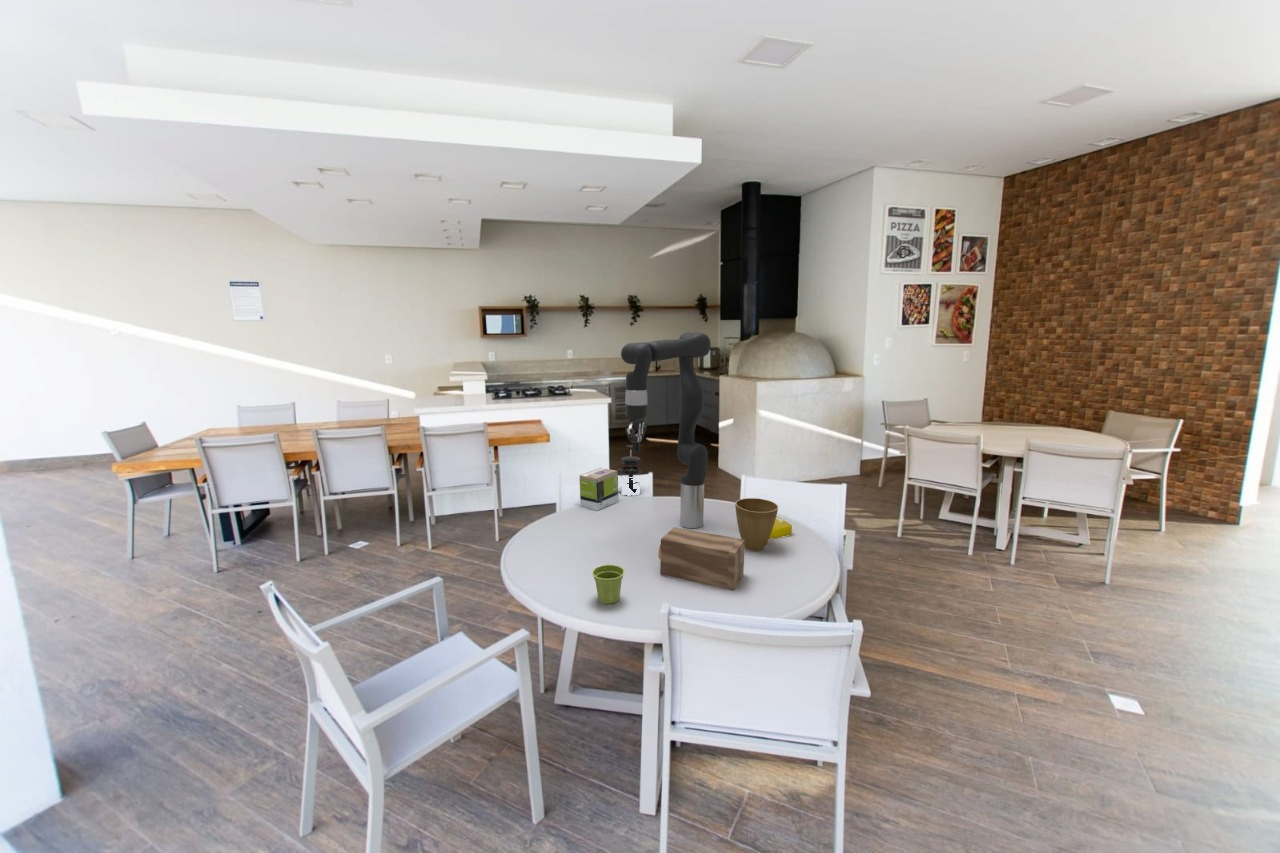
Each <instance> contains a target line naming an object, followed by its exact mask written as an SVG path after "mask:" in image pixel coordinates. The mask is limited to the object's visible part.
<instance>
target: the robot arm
mask: <svg viewBox="0 0 1280 853" xmlns="http://www.w3.org/2000/svg"><path fill="white" fill-rule="evenodd" d="M711 343H712V342H711V339H710V337H709V336H708V335H707V334H706V333H703V332H683V333H681V335H680V336H679V338H678V339H659V340H652V341H647V342H646V341H645V342H629V343H627V344H625V345H624V346H623V347H622V348H621V351H620V357H621V359H622V360H623V362H625V363H626V364H629V365H634V369H633V370H632V371H630V372H627V373H626V375H625V376H626V377H625V384H626V385H625V400H624V402H625V411H624V412H625V417H626V418H628V419H629V421H628V428H627V427H626V428H625V430H624V432H625V435H626V436H627V439H628V441H629V442H631V443H632V445H633V448H632V453H634V454H639V453H640V452H641V442H642V440H643V439H644V437H645V434H646V431H647V429H648V428H647V427H648V423H645V419H644V418H646V417H648V405H649V404H648V400H649V399H648V374H649V371H650V367H651V364H652V362H658V361H659V362H660V361H665V360H672V359H676V358H678V366H679V430H678V441H677V448H676V449H677V451H676V454H677V458H678V461H679V462H680V463H681V464H683V465H686V466H688V470H687V472H685V473H683V474H681V476H680V510H679V511H680V514H679V524H680V526H682V527H683V528H686V529H699V528H702V527H703V526H704V513H705V512H704V510H705V509H704V508H705V480H706V477H707V473H708V461H709V460H708V459H709V454H708V449H707V446H705V445H703V444H702V443H701V444H700V443H698V442H695V432H696V426H697V425H698V422H699V421H700V418H701V416H702V414H703V412H704V408H705V407H704V406H705V393H704V388H703V386H702V384H701V382H700V379H699V378H698V375H697V374H696V371H695V367H694V366H695V363H694V358H695V359H696V358H704V357H706V356H707V355H708V354H709V353H710V351H711V347H712V346H711V345H712V344H711Z"/></svg>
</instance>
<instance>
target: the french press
mask: <svg viewBox="0 0 1280 853" xmlns="http://www.w3.org/2000/svg"><path fill="white" fill-rule="evenodd" d="M626 448H629V450H630V452H629V453H630V455H628V456H622V457H621V458H620V460H621V463H622V465H626V466H622V467H621V468H617V469H616V471H617V473H618V474H619V471H620V472H621V473H620V474H621V475H620V477H622V478H623V474H627V475H628V478H629V477H633V478H634V475H635V474H640V473H641V467H639V466H636V465H638V463H639V462H640V460H641V458H640V457H638V456H633V455H632V451H633V444H632V445H631V444H630V445H629V444H628V445H626ZM633 478H629V483H627V484H629V488H630V489H631V490H632V491H633V492H634V493H635V492H636V490H637V489H633V484H639V482H635V483H633V480H631V479H633Z"/></svg>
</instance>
